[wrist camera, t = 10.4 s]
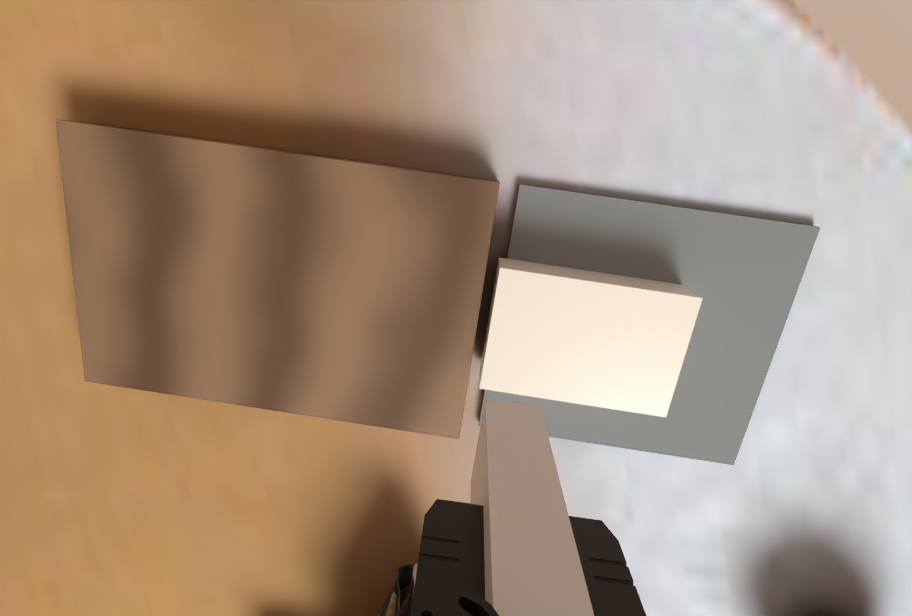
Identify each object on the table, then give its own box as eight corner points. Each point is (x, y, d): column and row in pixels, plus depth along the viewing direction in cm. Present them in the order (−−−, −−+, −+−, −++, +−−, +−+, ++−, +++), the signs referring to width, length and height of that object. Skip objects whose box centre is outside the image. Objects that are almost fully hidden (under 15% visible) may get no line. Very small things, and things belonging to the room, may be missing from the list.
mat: (478, 421, 27) (478, 425, 26) (519, 183, 23) (519, 184, 22) (730, 460, 26) (733, 464, 26) (814, 226, 22) (820, 227, 22)
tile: (480, 368, 25) (479, 388, 23) (498, 257, 23) (499, 267, 21) (649, 394, 25) (666, 417, 23) (681, 284, 23) (702, 298, 21)
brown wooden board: (113, 365, 27) (84, 381, 25) (91, 123, 23) (55, 119, 21) (461, 419, 27) (459, 439, 25) (498, 181, 23) (499, 182, 21)
